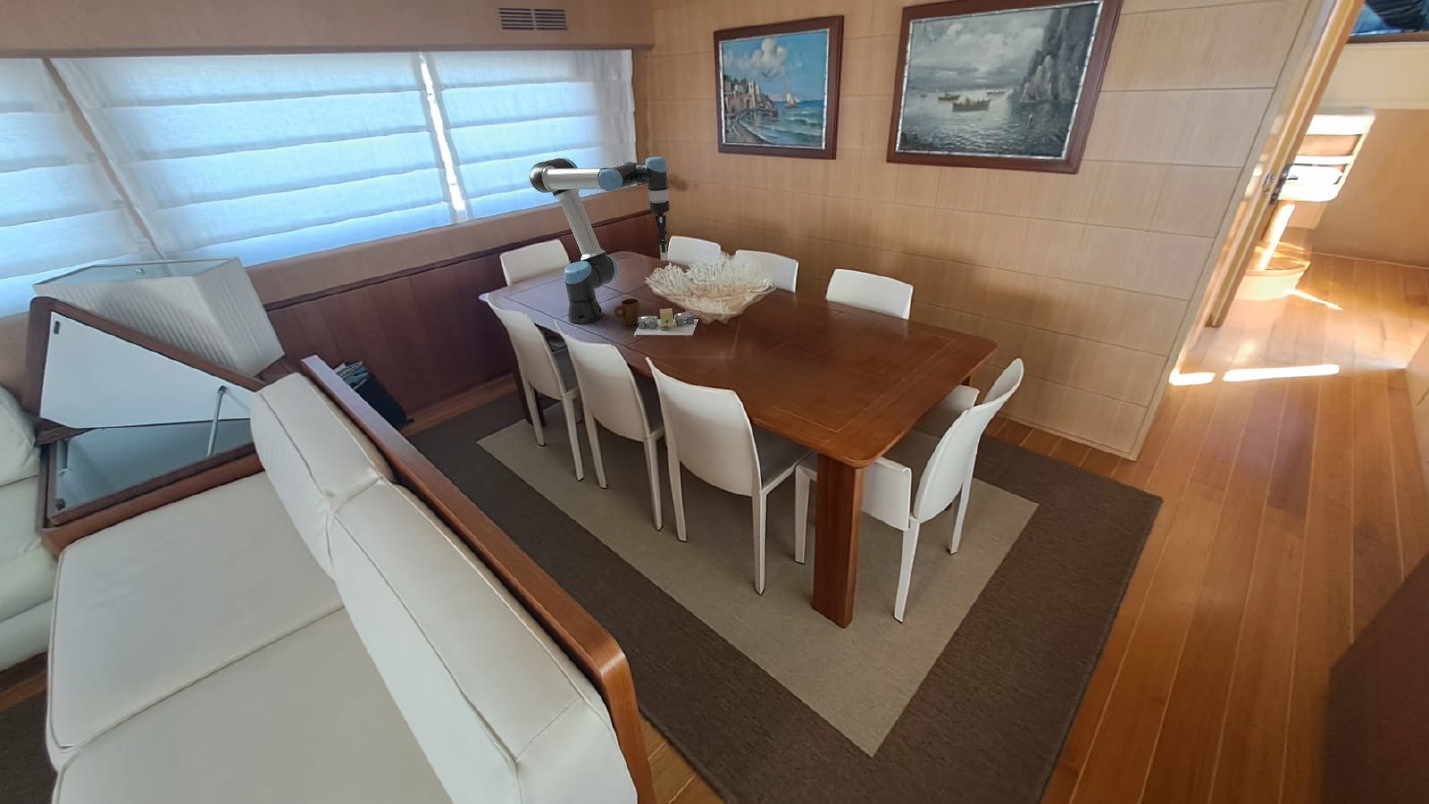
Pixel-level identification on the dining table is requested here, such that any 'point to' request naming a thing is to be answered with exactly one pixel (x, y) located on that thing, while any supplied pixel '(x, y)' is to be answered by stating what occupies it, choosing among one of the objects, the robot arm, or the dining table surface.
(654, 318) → the grey mechanical block
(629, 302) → the mug
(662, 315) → the coupler
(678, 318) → the grey metal block
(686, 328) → the rig board
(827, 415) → the dining table surface
